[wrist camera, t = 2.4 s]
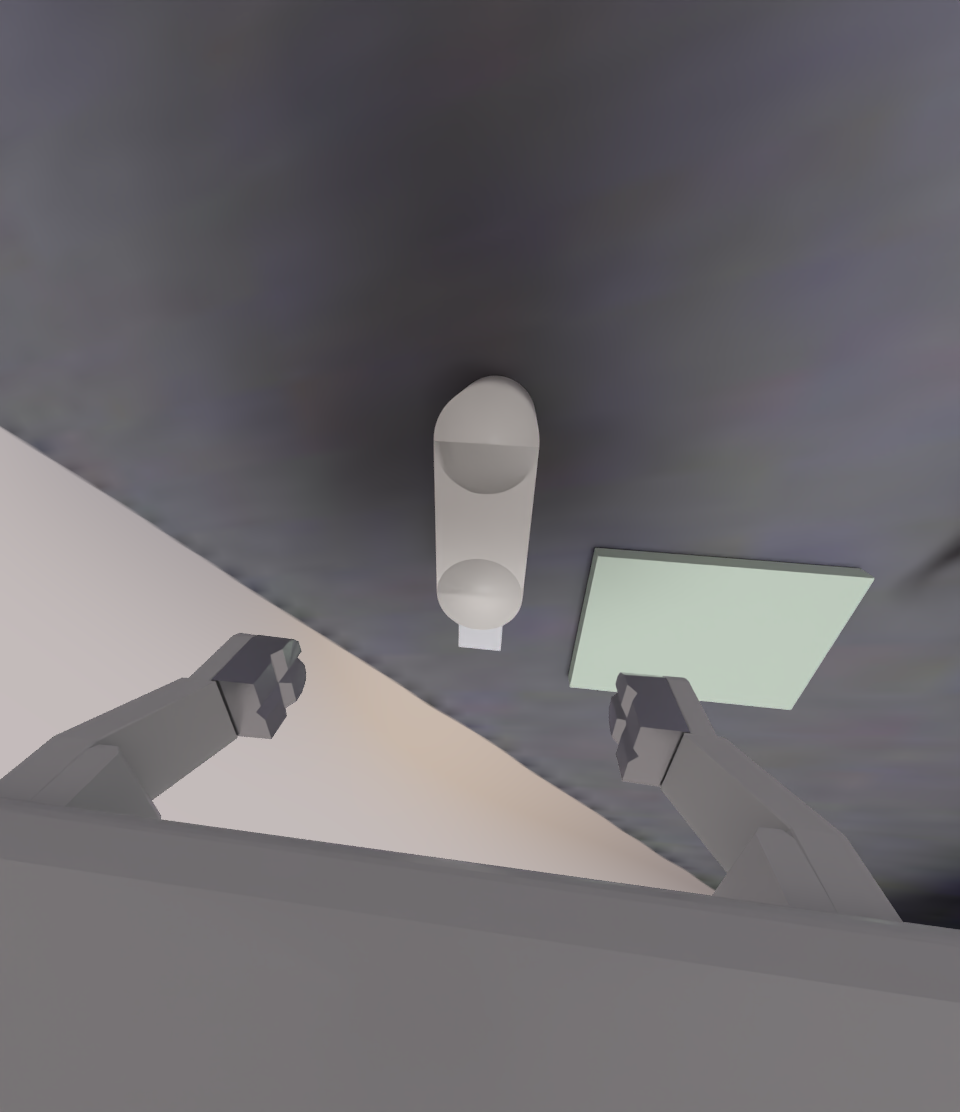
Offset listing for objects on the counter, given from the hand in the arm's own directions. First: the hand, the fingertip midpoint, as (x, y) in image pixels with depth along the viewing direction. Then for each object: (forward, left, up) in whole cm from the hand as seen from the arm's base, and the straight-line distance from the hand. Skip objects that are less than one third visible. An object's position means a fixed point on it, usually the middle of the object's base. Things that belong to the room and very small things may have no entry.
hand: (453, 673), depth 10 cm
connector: (+1, 0, -13) cm, 13 cm away
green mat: (+7, +13, -13) cm, 20 cm away
